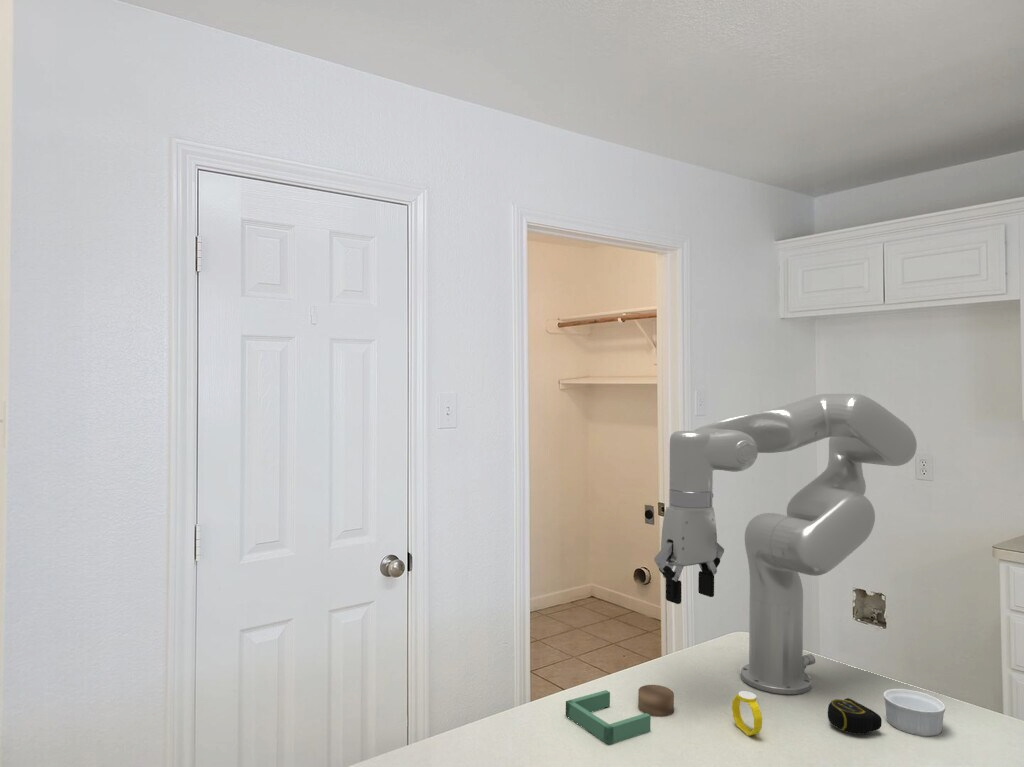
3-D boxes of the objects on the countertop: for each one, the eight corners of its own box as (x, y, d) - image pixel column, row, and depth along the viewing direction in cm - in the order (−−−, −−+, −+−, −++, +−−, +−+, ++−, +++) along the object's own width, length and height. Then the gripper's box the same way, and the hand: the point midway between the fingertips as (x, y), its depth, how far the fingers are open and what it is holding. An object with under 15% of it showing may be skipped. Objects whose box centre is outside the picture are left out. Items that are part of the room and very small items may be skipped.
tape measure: (884, 736, 110) (884, 712, 110) (850, 741, 108) (850, 717, 108) (851, 717, 116) (851, 694, 116) (818, 722, 114) (818, 699, 114)
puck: (656, 699, 122) (656, 682, 122) (681, 712, 117) (681, 694, 117) (631, 706, 119) (631, 689, 119) (655, 720, 114) (655, 702, 114)
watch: (727, 724, 113) (728, 687, 113) (741, 722, 113) (742, 685, 114) (751, 741, 107) (751, 703, 107) (766, 739, 108) (766, 701, 108)
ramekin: (892, 708, 120) (893, 683, 120) (951, 726, 113) (951, 700, 113) (875, 725, 113) (875, 698, 113) (936, 745, 107) (936, 717, 107)
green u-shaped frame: (606, 704, 119) (606, 690, 119) (650, 731, 110) (650, 715, 110) (565, 716, 114) (565, 701, 114) (608, 744, 105) (608, 728, 105)
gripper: (708, 494, 131) (707, 586, 130) (640, 500, 121) (639, 600, 121) (740, 499, 124) (739, 596, 124) (670, 506, 115) (670, 611, 115)
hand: (690, 597), depth 122 cm, fingers open, 7 cm apart
